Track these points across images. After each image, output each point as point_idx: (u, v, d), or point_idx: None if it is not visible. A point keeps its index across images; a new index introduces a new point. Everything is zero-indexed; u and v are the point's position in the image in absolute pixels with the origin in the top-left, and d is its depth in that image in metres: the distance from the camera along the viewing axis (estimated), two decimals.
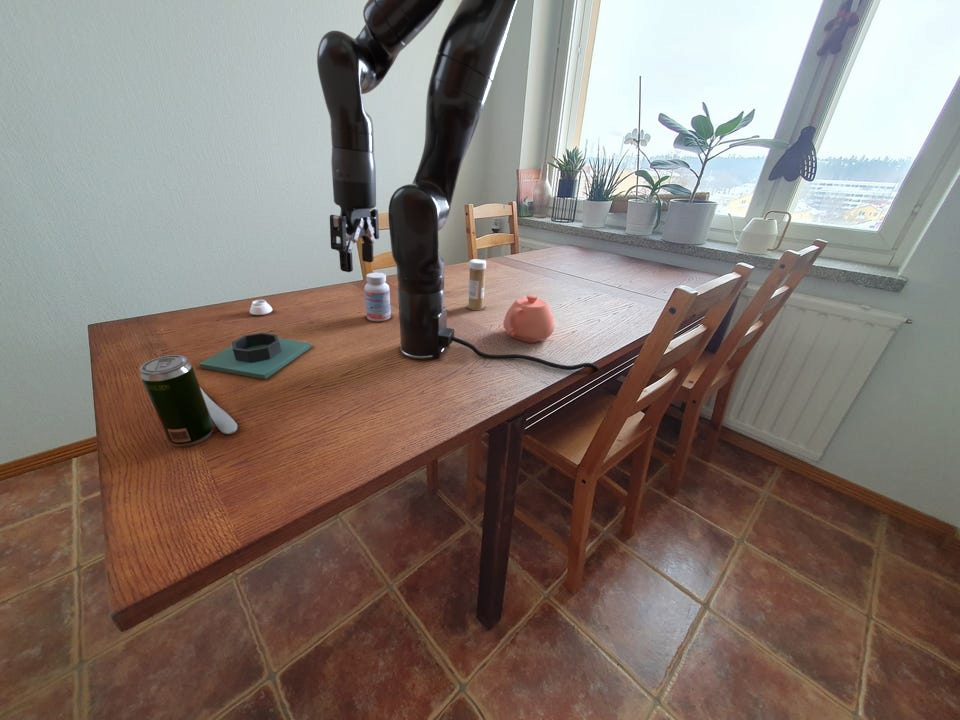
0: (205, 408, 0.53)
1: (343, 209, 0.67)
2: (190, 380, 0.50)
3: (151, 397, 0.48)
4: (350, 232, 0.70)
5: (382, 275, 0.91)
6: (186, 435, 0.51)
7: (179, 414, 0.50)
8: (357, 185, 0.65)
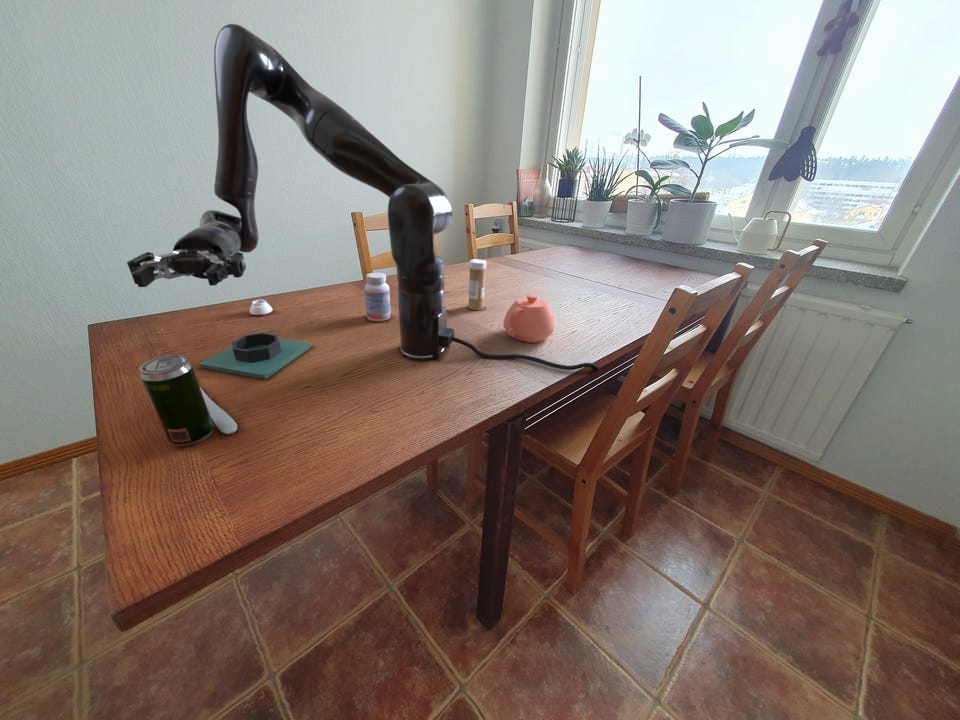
0: (205, 408, 0.53)
1: None
2: (189, 380, 0.50)
3: (151, 397, 0.48)
4: (170, 264, 0.58)
5: (382, 275, 0.91)
6: (186, 435, 0.51)
7: (178, 414, 0.50)
8: None
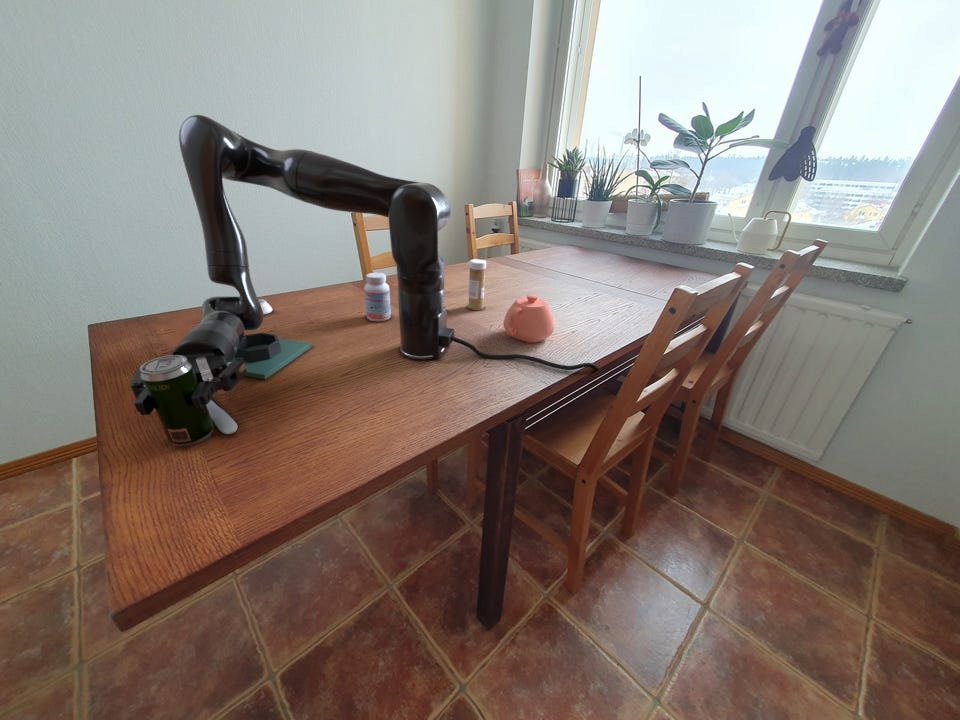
0: (205, 408, 0.53)
1: None
2: (190, 380, 0.50)
3: (151, 397, 0.48)
4: None
5: (382, 275, 0.91)
6: (186, 435, 0.51)
7: (179, 415, 0.50)
8: None
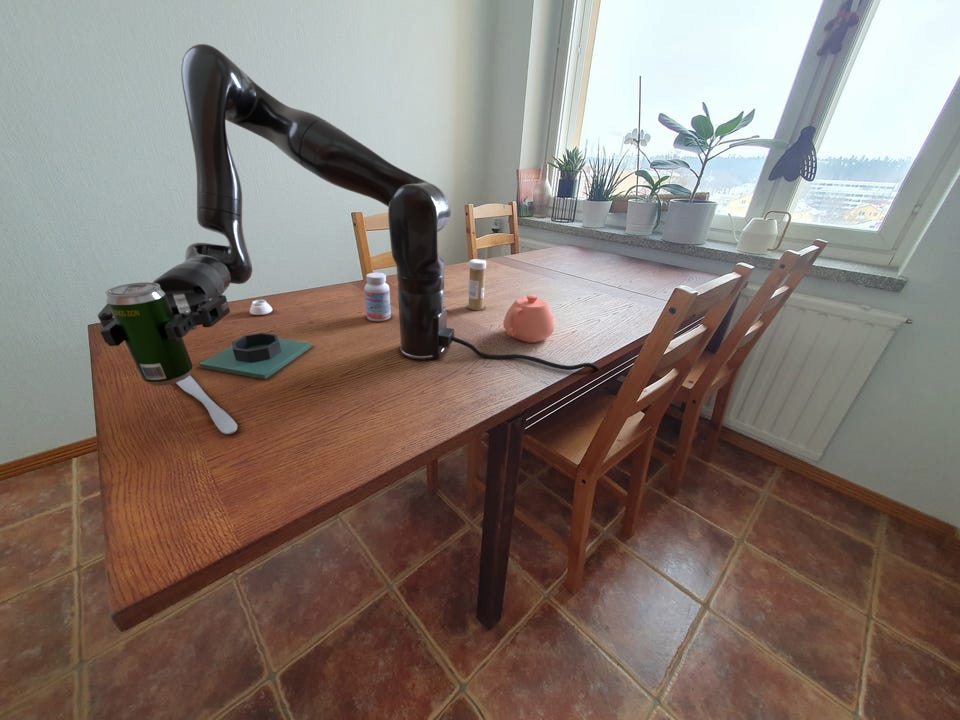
0: (182, 344, 0.48)
1: None
2: (163, 309, 0.45)
3: (119, 325, 0.43)
4: None
5: (382, 275, 0.91)
6: (161, 372, 0.46)
7: (151, 347, 0.45)
8: None
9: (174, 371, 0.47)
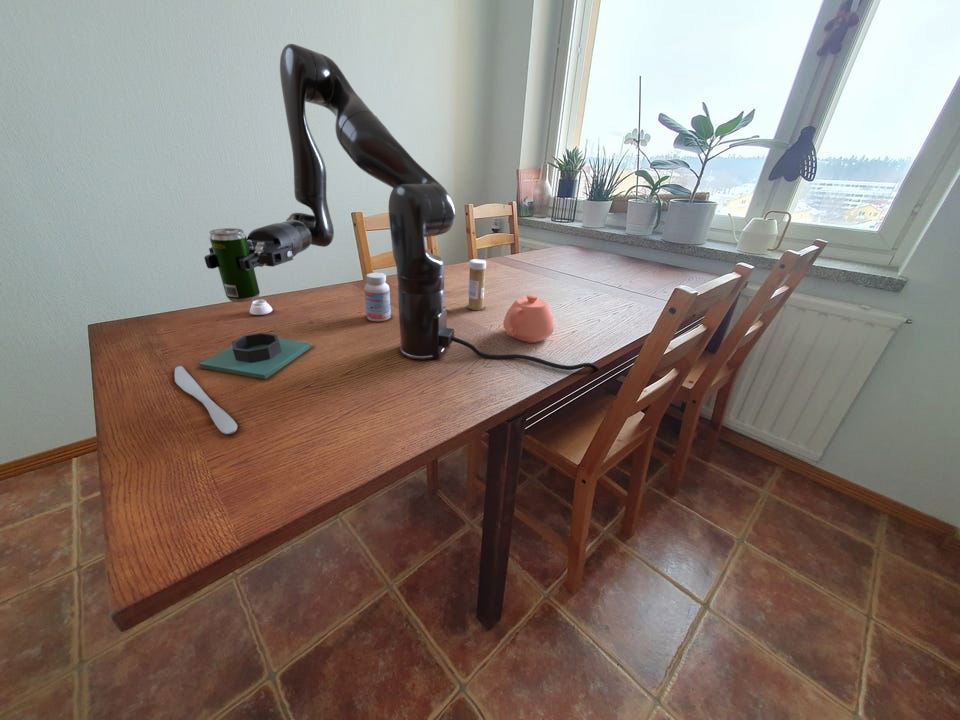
0: (253, 275, 0.68)
1: None
2: (241, 247, 0.64)
3: (214, 254, 0.64)
4: None
5: (382, 275, 0.91)
6: (235, 292, 0.66)
7: (230, 272, 0.65)
8: None
9: (244, 293, 0.67)
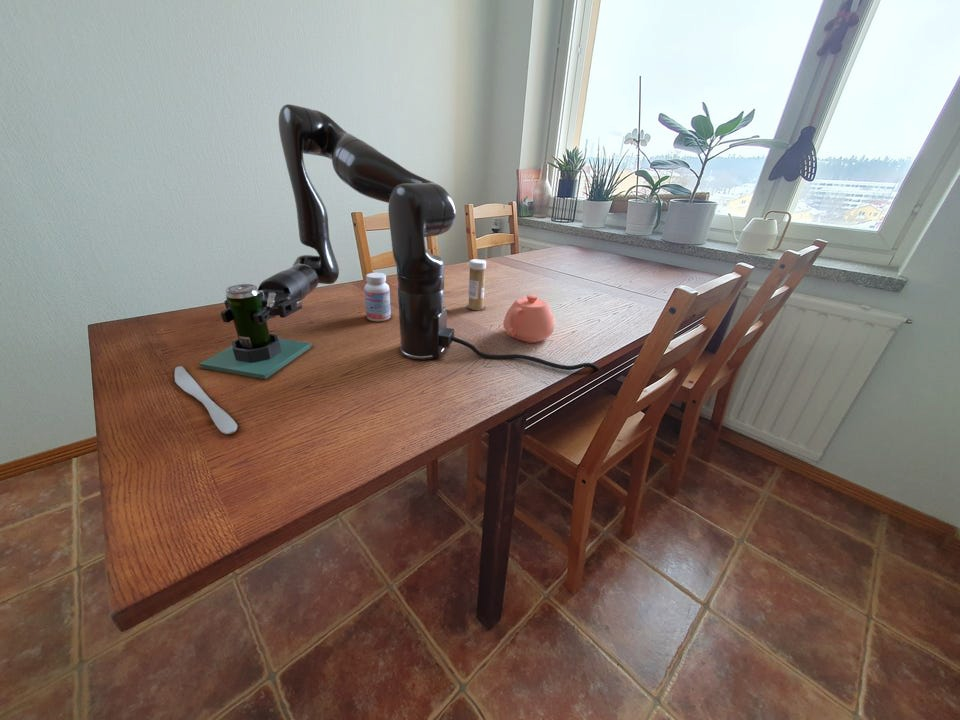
0: (265, 326, 0.72)
1: None
2: (255, 303, 0.69)
3: (230, 310, 0.69)
4: None
5: (382, 275, 0.91)
6: (249, 343, 0.71)
7: (245, 326, 0.70)
8: None
9: (257, 343, 0.72)
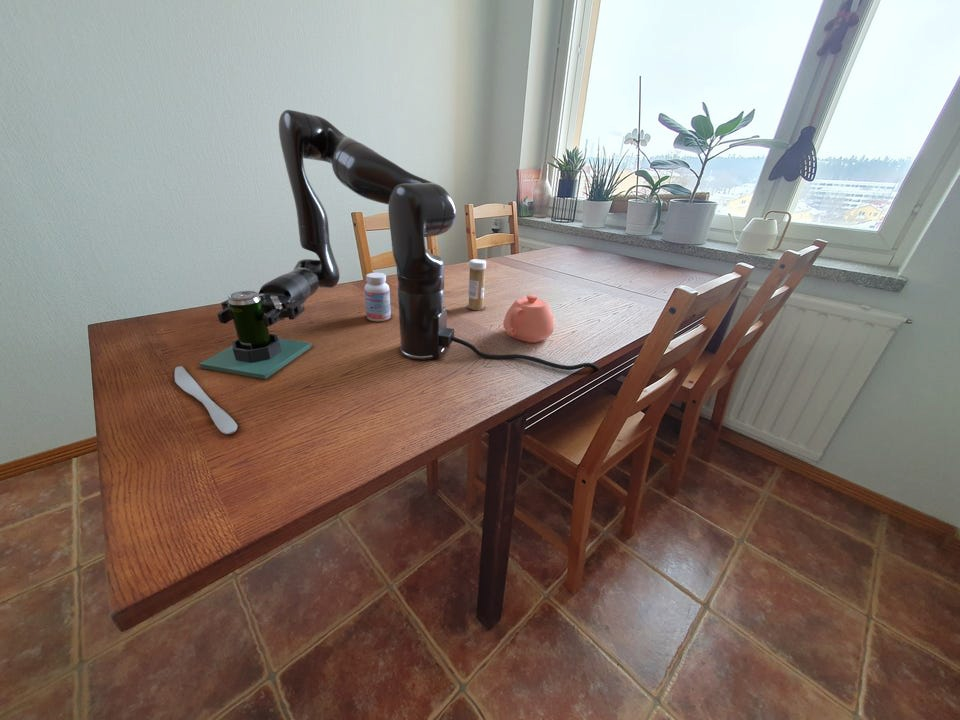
0: (266, 333, 0.73)
1: None
2: (256, 309, 0.70)
3: (232, 316, 0.69)
4: None
5: (382, 275, 0.91)
6: (250, 349, 0.72)
7: (247, 332, 0.70)
8: None
9: None
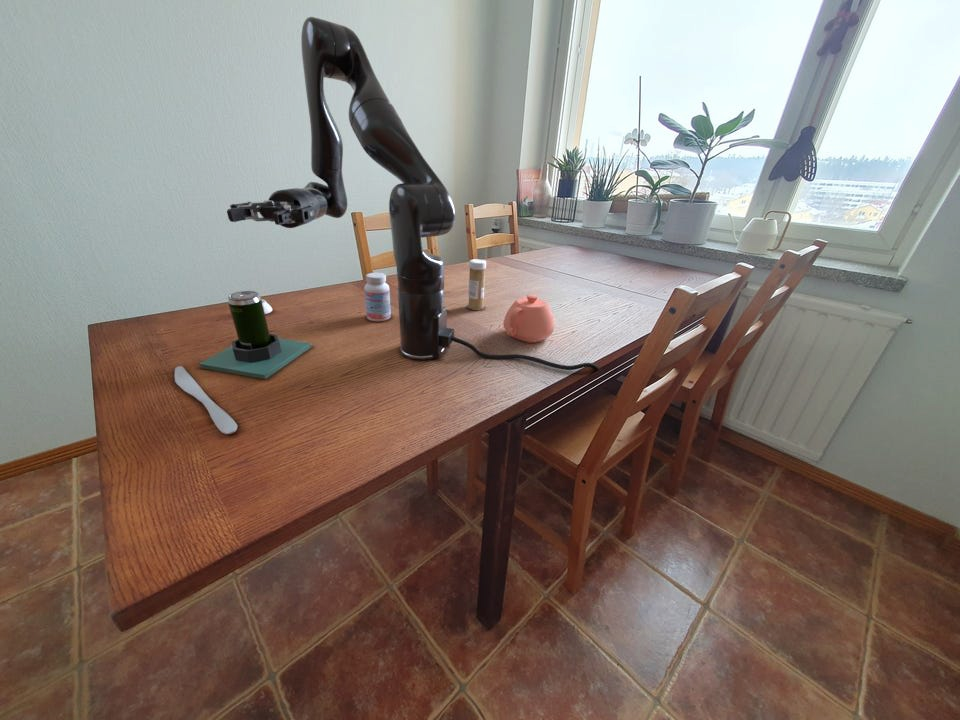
0: (266, 333, 0.73)
1: None
2: (256, 309, 0.70)
3: (232, 316, 0.69)
4: (260, 210, 0.74)
5: (382, 275, 0.91)
6: (250, 349, 0.72)
7: (247, 332, 0.70)
8: None
9: None
